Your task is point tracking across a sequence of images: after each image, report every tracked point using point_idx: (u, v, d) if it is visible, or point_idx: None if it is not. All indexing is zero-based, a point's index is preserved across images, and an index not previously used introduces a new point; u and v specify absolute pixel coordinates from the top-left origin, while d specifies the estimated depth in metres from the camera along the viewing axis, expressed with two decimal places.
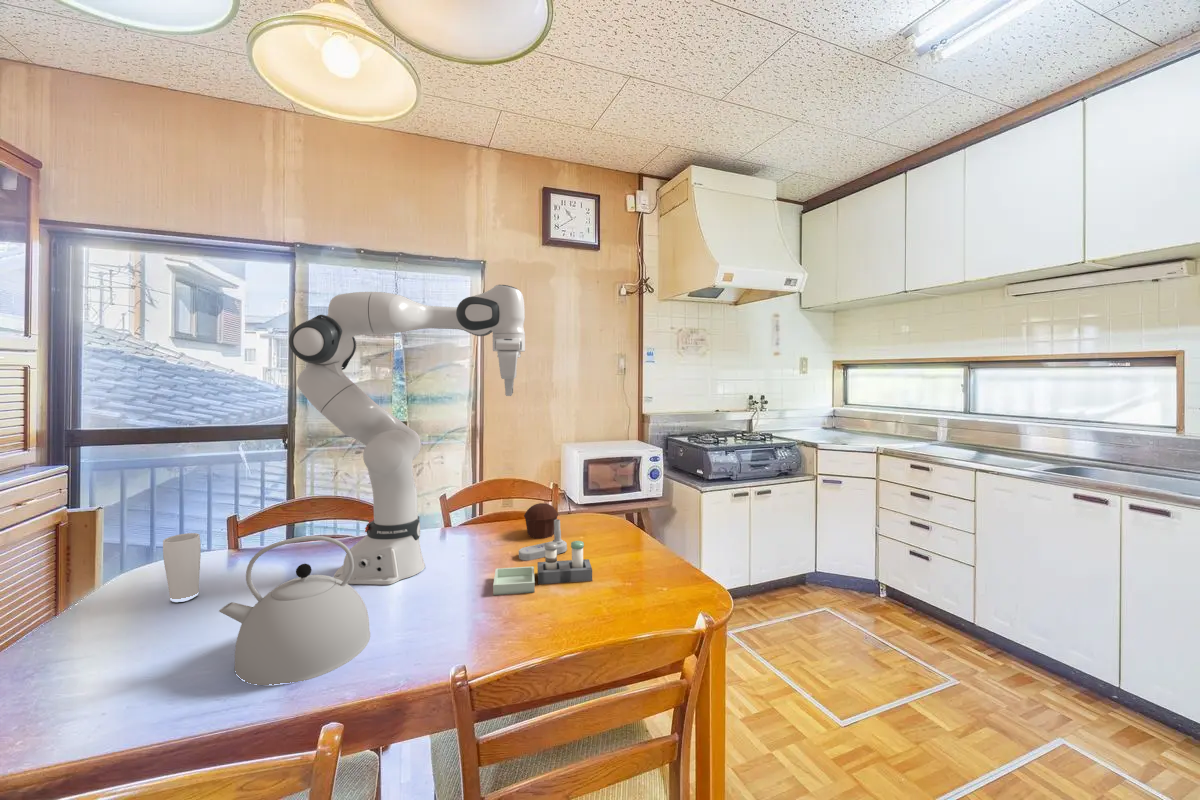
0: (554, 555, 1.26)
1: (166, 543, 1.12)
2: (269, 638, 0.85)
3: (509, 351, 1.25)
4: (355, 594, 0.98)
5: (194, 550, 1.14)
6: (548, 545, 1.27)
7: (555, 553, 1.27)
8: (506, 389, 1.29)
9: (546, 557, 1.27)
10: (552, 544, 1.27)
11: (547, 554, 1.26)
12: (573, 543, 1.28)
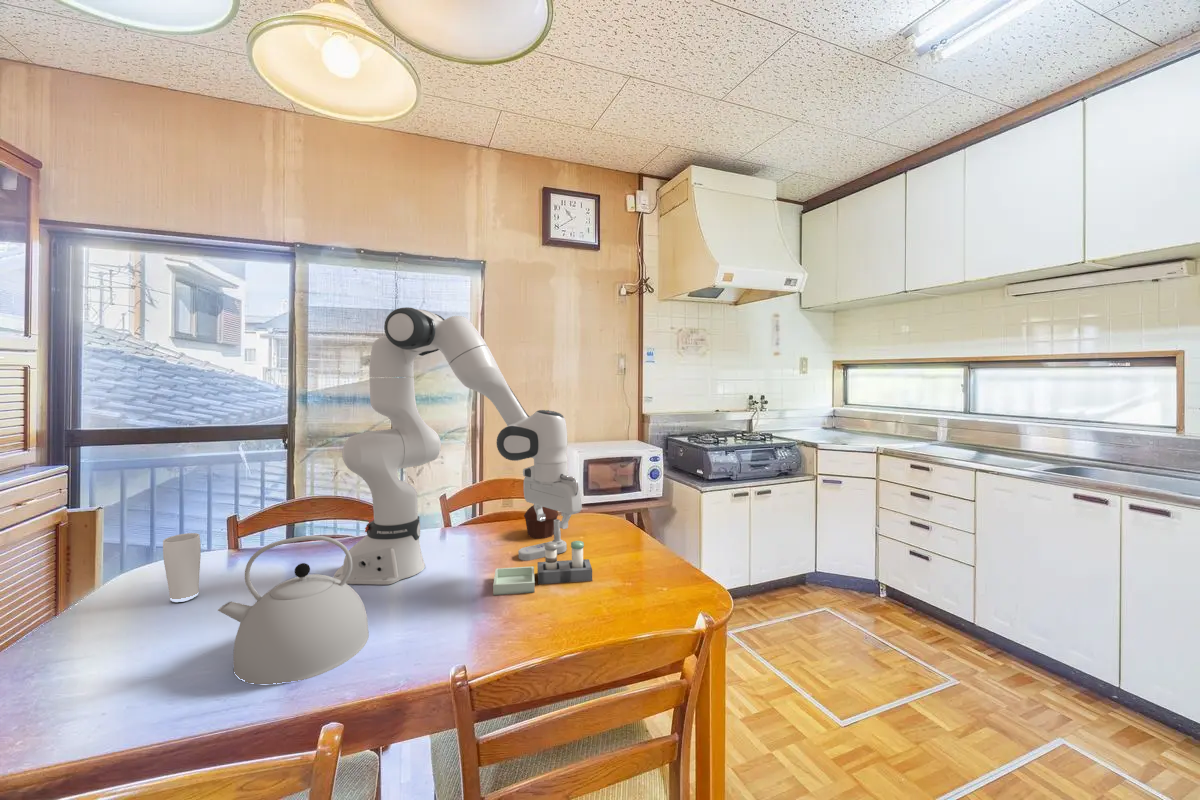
0: (554, 555, 1.26)
1: (166, 543, 1.12)
2: (267, 638, 0.85)
3: None
4: (353, 593, 0.98)
5: (194, 550, 1.14)
6: (548, 545, 1.27)
7: (555, 553, 1.27)
8: None
9: (546, 557, 1.27)
10: (552, 544, 1.27)
11: (547, 554, 1.26)
12: (573, 543, 1.28)
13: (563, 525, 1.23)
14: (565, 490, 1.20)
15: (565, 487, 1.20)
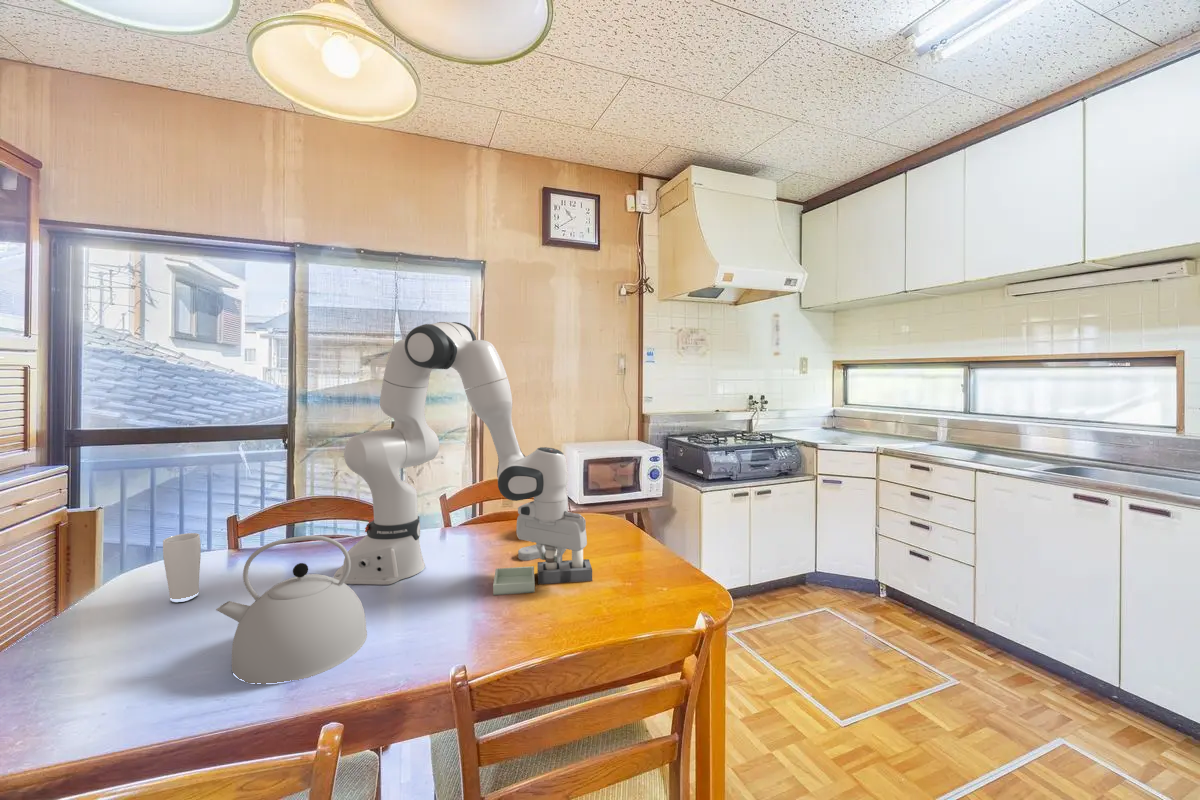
0: (554, 555, 1.26)
1: (166, 543, 1.12)
2: (265, 638, 0.85)
3: None
4: (352, 593, 0.98)
5: (194, 550, 1.14)
6: (548, 545, 1.27)
7: (555, 553, 1.27)
8: None
9: (546, 557, 1.27)
10: None
11: (547, 554, 1.26)
12: None
13: (559, 559, 1.26)
14: (572, 528, 1.22)
15: (572, 525, 1.22)
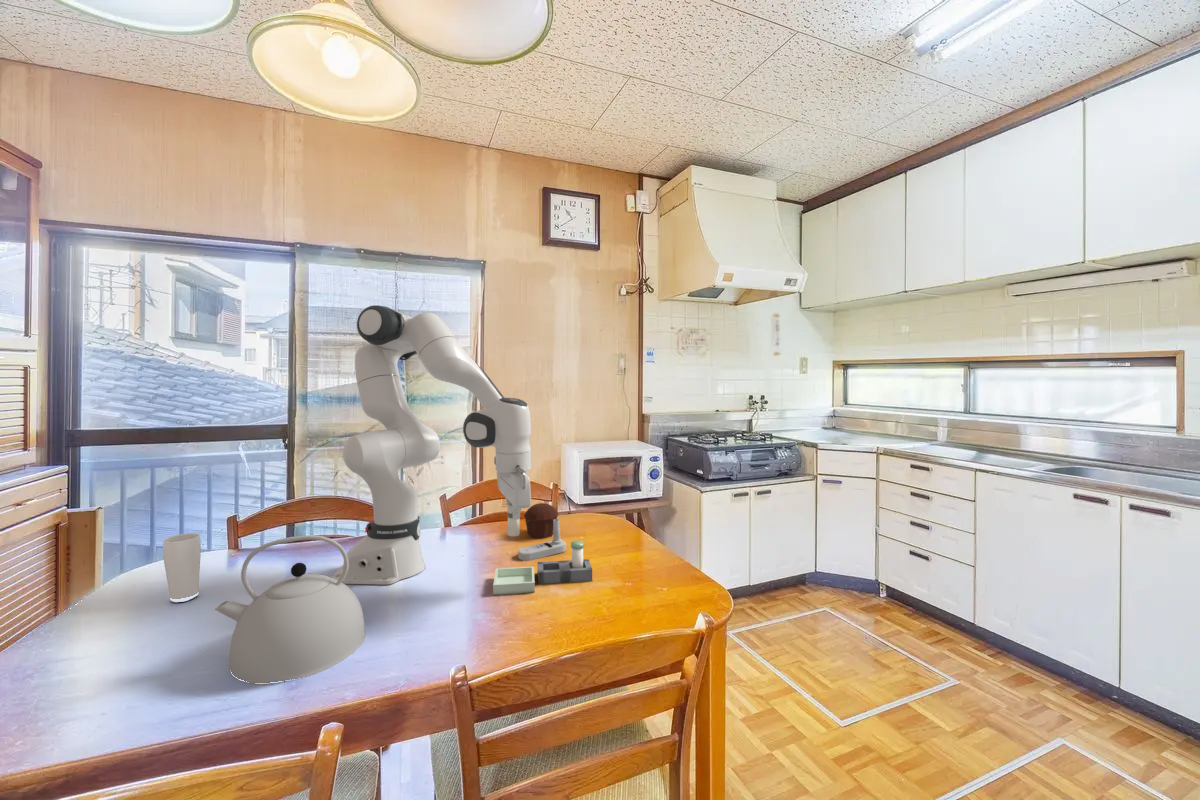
0: None
1: (166, 543, 1.12)
2: (262, 637, 0.85)
3: None
4: (350, 593, 0.98)
5: (194, 550, 1.14)
6: None
7: None
8: None
9: None
10: None
11: None
12: (573, 543, 1.28)
13: (514, 516, 1.20)
14: (514, 483, 1.14)
15: (513, 479, 1.14)
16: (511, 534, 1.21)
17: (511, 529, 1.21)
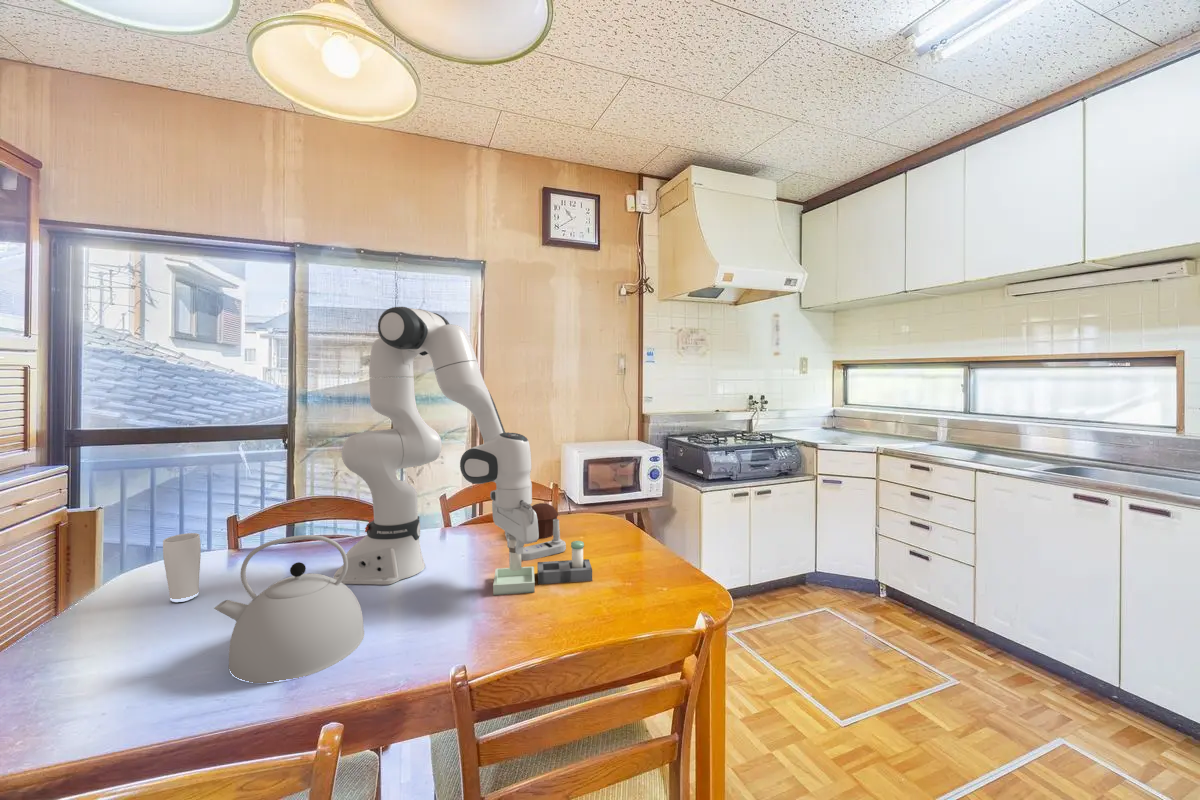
0: (515, 545, 1.21)
1: (166, 543, 1.12)
2: (261, 637, 0.85)
3: None
4: (349, 593, 0.99)
5: (194, 550, 1.14)
6: None
7: None
8: None
9: (509, 546, 1.23)
10: None
11: (509, 543, 1.22)
12: (573, 543, 1.28)
13: (517, 550, 1.20)
14: (521, 518, 1.15)
15: (521, 515, 1.15)
16: (513, 568, 1.22)
17: (513, 563, 1.22)
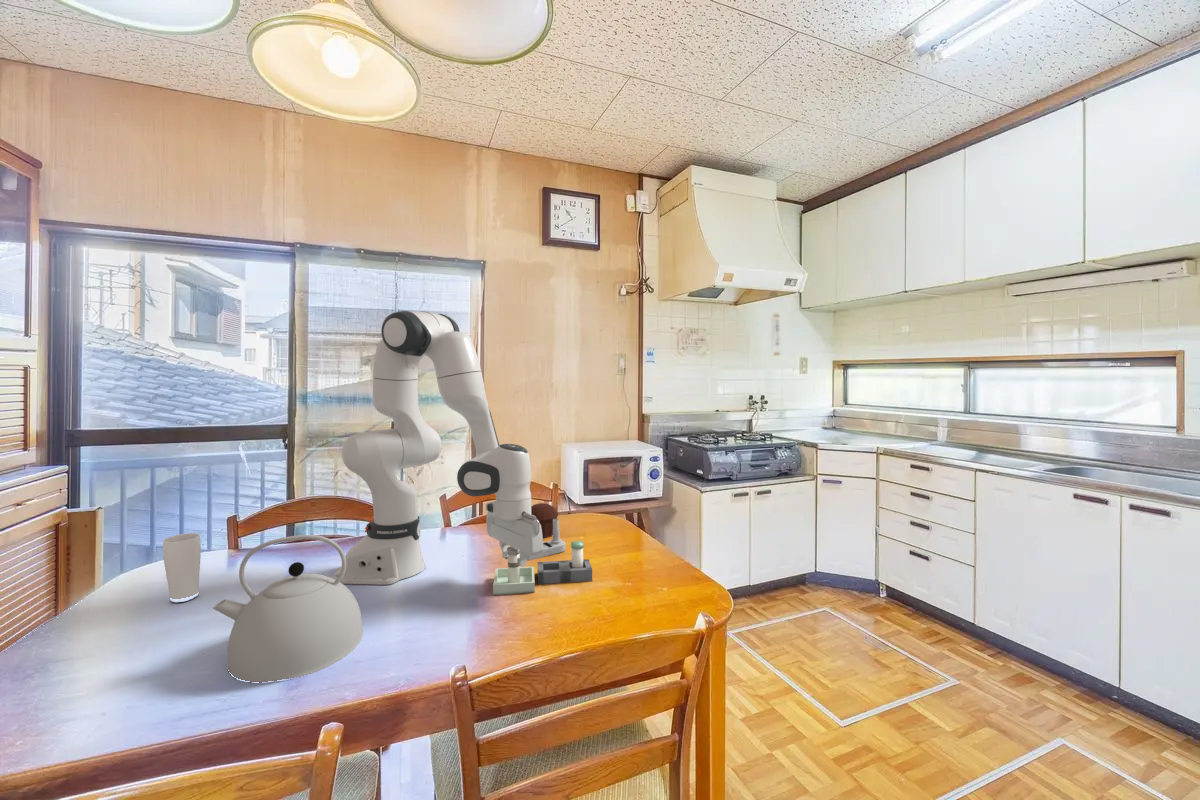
0: (515, 560, 1.22)
1: (166, 543, 1.12)
2: (259, 636, 0.85)
3: None
4: (347, 593, 0.99)
5: (194, 550, 1.14)
6: (510, 549, 1.22)
7: (516, 558, 1.22)
8: None
9: (508, 561, 1.23)
10: (514, 548, 1.23)
11: (508, 558, 1.22)
12: (573, 543, 1.28)
13: (521, 562, 1.20)
14: (526, 530, 1.16)
15: (525, 527, 1.16)
16: None
17: (513, 578, 1.22)
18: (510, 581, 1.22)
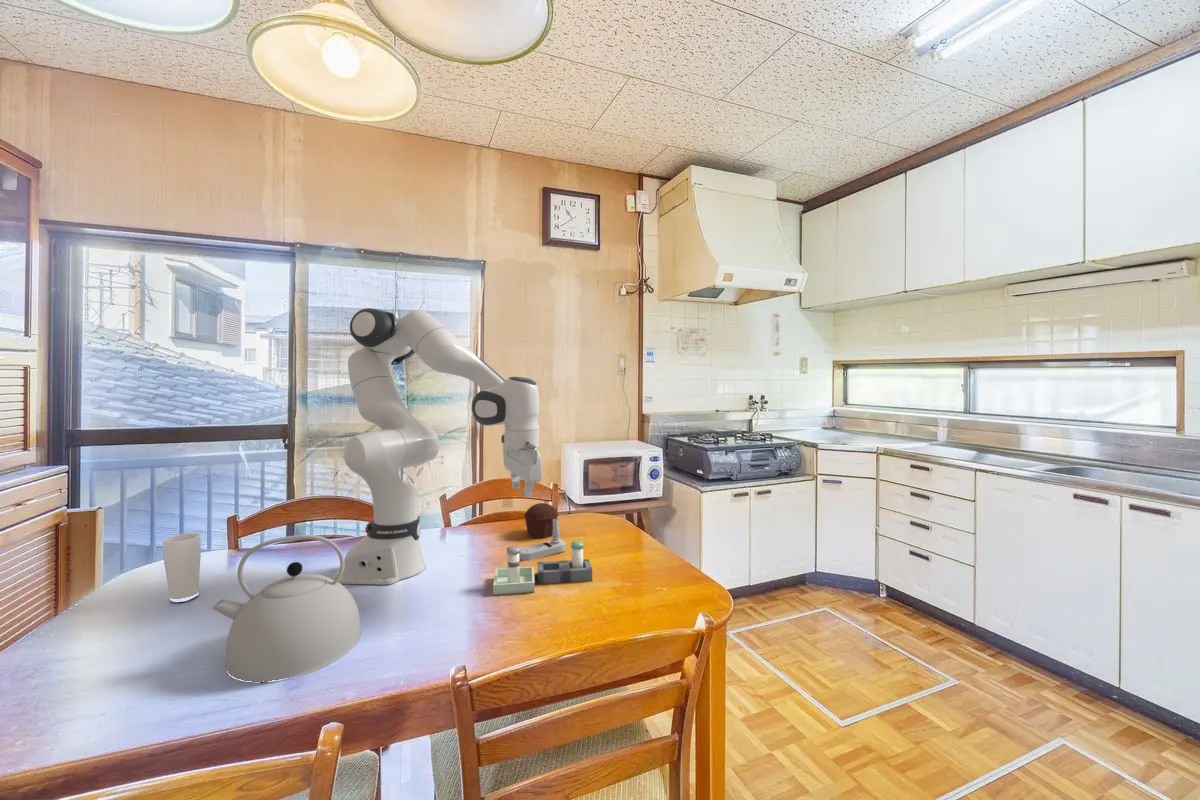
0: (515, 560, 1.22)
1: (166, 543, 1.12)
2: (257, 636, 0.86)
3: None
4: (346, 593, 0.99)
5: (194, 550, 1.14)
6: (509, 549, 1.23)
7: (516, 558, 1.22)
8: None
9: (508, 561, 1.23)
10: (514, 548, 1.23)
11: (508, 558, 1.22)
12: (573, 543, 1.28)
13: (526, 493, 1.21)
14: (525, 458, 1.17)
15: (525, 455, 1.17)
16: None
17: (513, 578, 1.22)
18: (510, 581, 1.22)
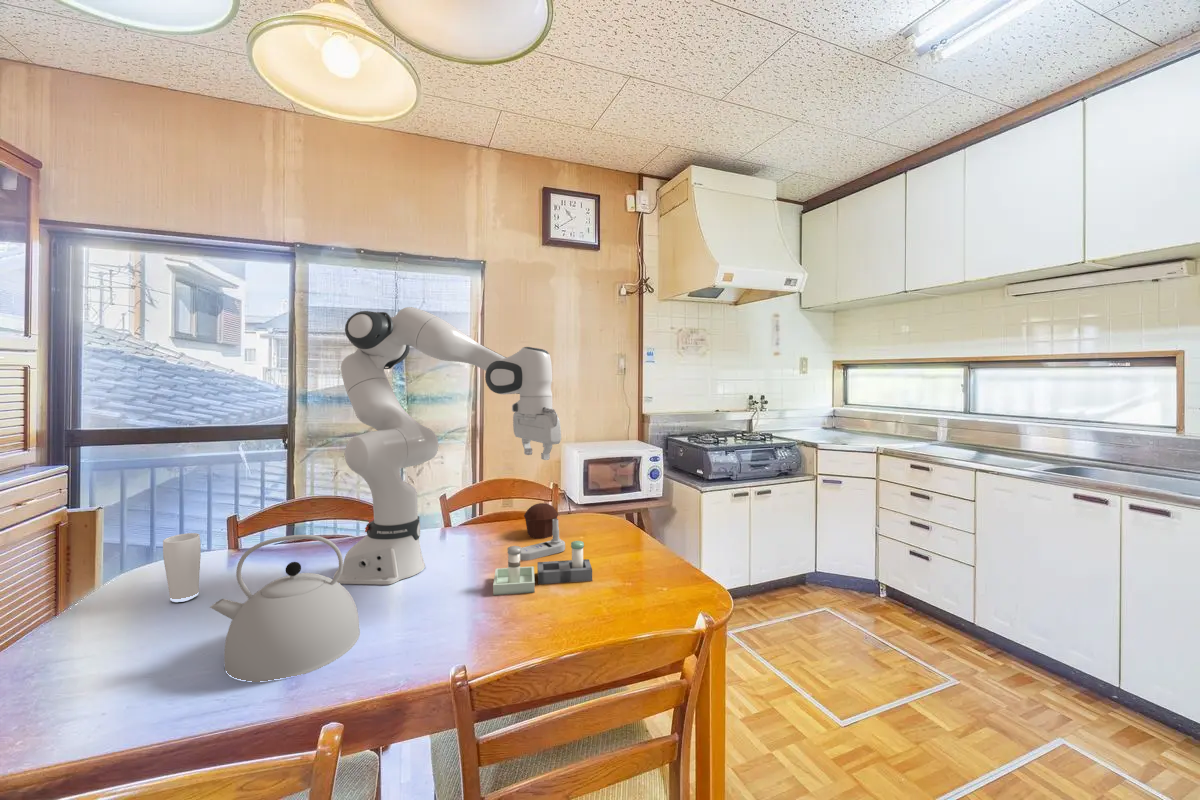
0: (515, 560, 1.22)
1: (166, 543, 1.12)
2: (255, 636, 0.86)
3: None
4: (344, 592, 0.99)
5: (194, 550, 1.14)
6: (510, 549, 1.23)
7: (517, 558, 1.22)
8: None
9: (508, 561, 1.23)
10: (515, 548, 1.23)
11: (509, 558, 1.22)
12: (573, 543, 1.28)
13: (544, 456, 1.28)
14: (545, 421, 1.25)
15: (545, 418, 1.25)
16: None
17: (513, 578, 1.22)
18: (510, 581, 1.22)
